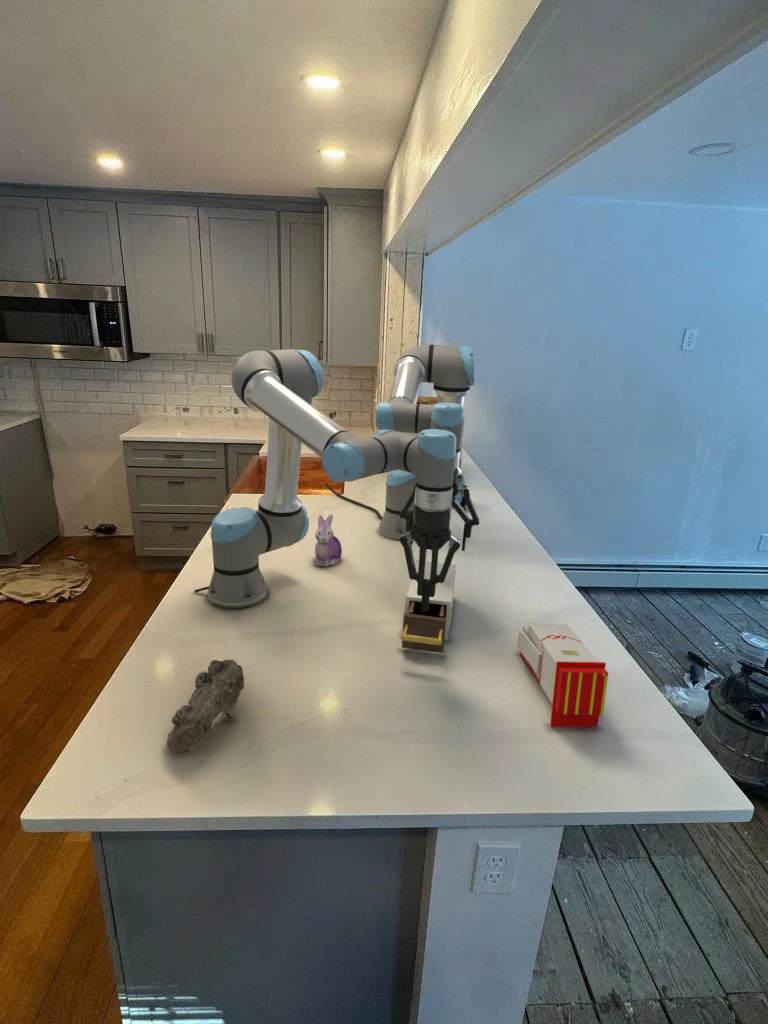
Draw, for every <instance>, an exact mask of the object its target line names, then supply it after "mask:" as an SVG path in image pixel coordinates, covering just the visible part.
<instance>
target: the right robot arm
mask: <svg viewBox="0 0 768 1024" xmlns="http://www.w3.org/2000/svg"><path fill="white" fill-rule="evenodd" d="M474 352H475V351H474V349H473V348H472V347H470V346H464V345H455V344H454V345H451V344H450V345H449V344H430V343H429V344H424V343H423V344H419V345H415V346H413V347H411V348H409V349H408V350H406V351H404V352H403V353H402V354H401V355H400V356H399V357H398V358H397V360H396V362H395V364H394V367H393V376H394V378H393V383H392V385H391V390H390V393H389V396H388V400H387V401H380V402H378V403H377V406H376V410H375V411H376V412H375V426H376V429H377V430H378V431H380V430H395V431H398V432H405V433H419V434H420V432H421V431H423V430H427V429H438V430H446V431H450V432H452V433H453V434H454V435H455V436H456V454H457V456H456V460H455V468H454V476H453V493H452V504H451V507H450V510H454V511H455V512H456V513H457V514H458V516H459V517H460V518H461V520H462V521H463V522H464V524H463V531H462V532H463V533H462V541H461V542H462V544H461V552H465V550H466V541H467V539H470V538H471V537H472V528H473V527H475V526H479V525H480V518H479V514H478V512H477V510H476V508H475V505H474V503H473V502H474V501H472V498H471V494H470V495H469V493H470V486H467V487H465V488H464V486H465V485H466V476H465V475H463V474H462V473H463V471H462V468H461V469H460V468H459V467H458V466H459V460H460V445H461V440H462V438H461V436H462V426H463V420H465V419H464V417H465V415H464V412H465V411H464V403H465V396H466V395H467V394H468V393H469V392H470V388H471V387H473V386H475V385H476V371H475V370H476V369H475V353H474ZM421 383H428V384H429V383H430V384H433V385H432V386H433V387H432V390H433V391H434V392H435V393H436V397H437V404H435V405H425V404H416V400H417V396H418V394H419V390H420V386H421V385H420V384H421ZM324 484H325V486H326V487H327V489H328V490H329V491H330V492H332V493H333V494H334V495H336V496H337V497H339V498H341V499H343V500H345V501H348V502H350V503H352V504H354V505H358V506H360V507H363V508H365V509H368V510H370V511H371V512H372V511H373V512H374V513H375V514H376V515H377V517H378V519H379V520H381V522H379V527H378V533H379V534H380V535H381V536H382V537H385V538H387V539H389V540H395V541H399V539H400V536H401V534H402V533H405V534H406V533H408V532H410V530H411V528H412V526H413V518H414V507H415V506H416V505H415V503H414V502H415V488H416V474H413V473H409V472H406V471H402V470H394V471H389V472H387V475H386V482H385V487H386V488H385V504H384V505H385V507H384V508H385V509H384V513H383V515H382V516H381V514H380V512H379V510H377V509H375V508H374V507H372V506H369V505H367V504H364V503H361V502H358V501H357V500H354V499H352V498H349V497H346V496H345V495H342V494H340V493H339V492H337V491H335V490H334V489H333V488H332V487H331V486H330V484H329V483H328V482H325V483H324ZM462 497H464V498H465V502H466V504H467V509H468V511H469V514H470V516H471V517H470V516H469V515H468V513H467V512H466V510H465V511H464V508H462V507H461V505H460V503H461V500H462ZM411 538H412V537H411ZM413 544H414V539H413V538H412V541H411V546H413Z"/></svg>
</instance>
